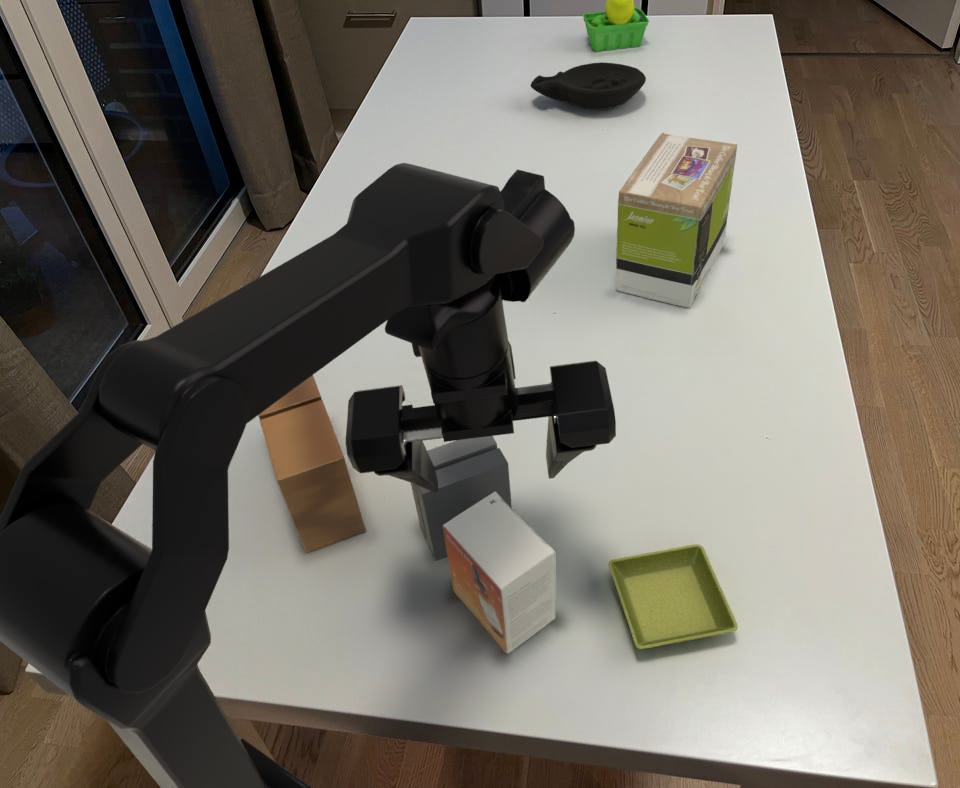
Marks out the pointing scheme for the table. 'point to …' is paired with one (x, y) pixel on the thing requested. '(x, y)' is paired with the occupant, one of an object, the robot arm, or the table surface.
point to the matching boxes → (311, 468)
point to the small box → (501, 571)
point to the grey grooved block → (460, 485)
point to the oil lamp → (592, 85)
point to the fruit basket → (616, 26)
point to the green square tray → (671, 596)
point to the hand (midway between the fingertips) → (492, 480)
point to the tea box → (673, 218)
